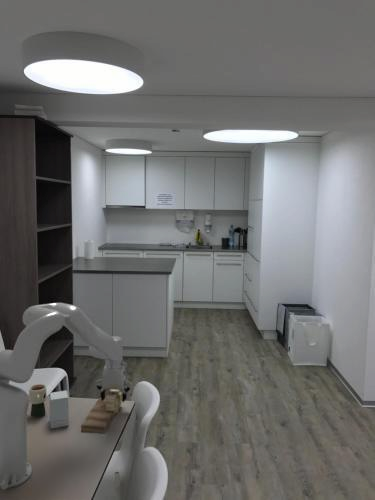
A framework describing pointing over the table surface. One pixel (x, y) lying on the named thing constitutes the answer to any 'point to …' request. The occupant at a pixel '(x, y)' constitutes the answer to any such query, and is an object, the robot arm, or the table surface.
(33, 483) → the table surface
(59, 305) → the robot arm
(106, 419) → the walnut board
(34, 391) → the character mug
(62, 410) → the supplement box
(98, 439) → the table surface
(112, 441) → the table surface
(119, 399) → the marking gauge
